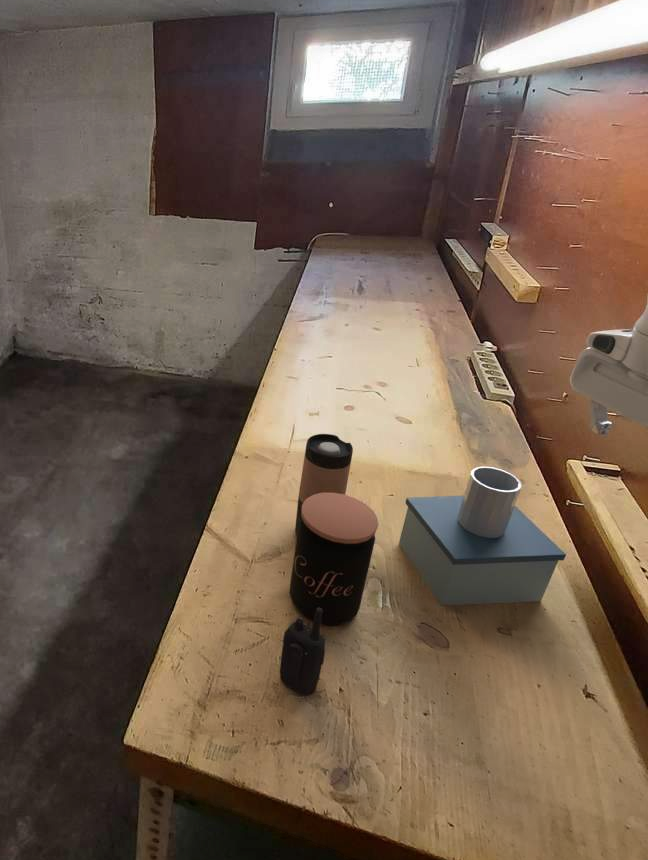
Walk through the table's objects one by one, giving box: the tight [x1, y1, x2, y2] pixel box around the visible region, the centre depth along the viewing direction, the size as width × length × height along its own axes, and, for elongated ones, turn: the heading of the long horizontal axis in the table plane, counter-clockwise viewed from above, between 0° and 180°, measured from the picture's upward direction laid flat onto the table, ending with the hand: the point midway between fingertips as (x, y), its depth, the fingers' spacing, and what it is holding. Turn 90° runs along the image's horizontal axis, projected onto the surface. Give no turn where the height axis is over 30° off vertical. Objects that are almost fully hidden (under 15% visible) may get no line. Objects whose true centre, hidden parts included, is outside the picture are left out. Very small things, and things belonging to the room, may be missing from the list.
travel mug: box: [294, 433, 354, 538], centre depth 100 cm, size 8×8×20 cm
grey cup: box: [457, 466, 522, 538], centre depth 89 cm, size 7×7×9 cm
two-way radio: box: [279, 608, 326, 696], centre depth 75 cm, size 6×4×15 cm
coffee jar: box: [289, 493, 379, 627], centre depth 87 cm, size 11×11×18 cm
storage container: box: [398, 494, 567, 606], centre depth 93 cm, size 17×15×10 cm
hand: (629, 450), depth 75 cm, fingers open, 8 cm apart
